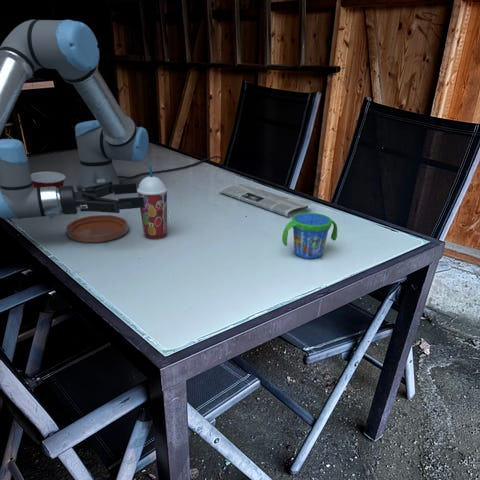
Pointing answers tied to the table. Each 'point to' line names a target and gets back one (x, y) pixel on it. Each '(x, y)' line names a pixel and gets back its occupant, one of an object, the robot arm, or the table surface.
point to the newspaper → (266, 199)
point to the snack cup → (309, 233)
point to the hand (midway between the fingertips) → (140, 194)
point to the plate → (97, 228)
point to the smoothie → (153, 206)
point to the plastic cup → (47, 179)
